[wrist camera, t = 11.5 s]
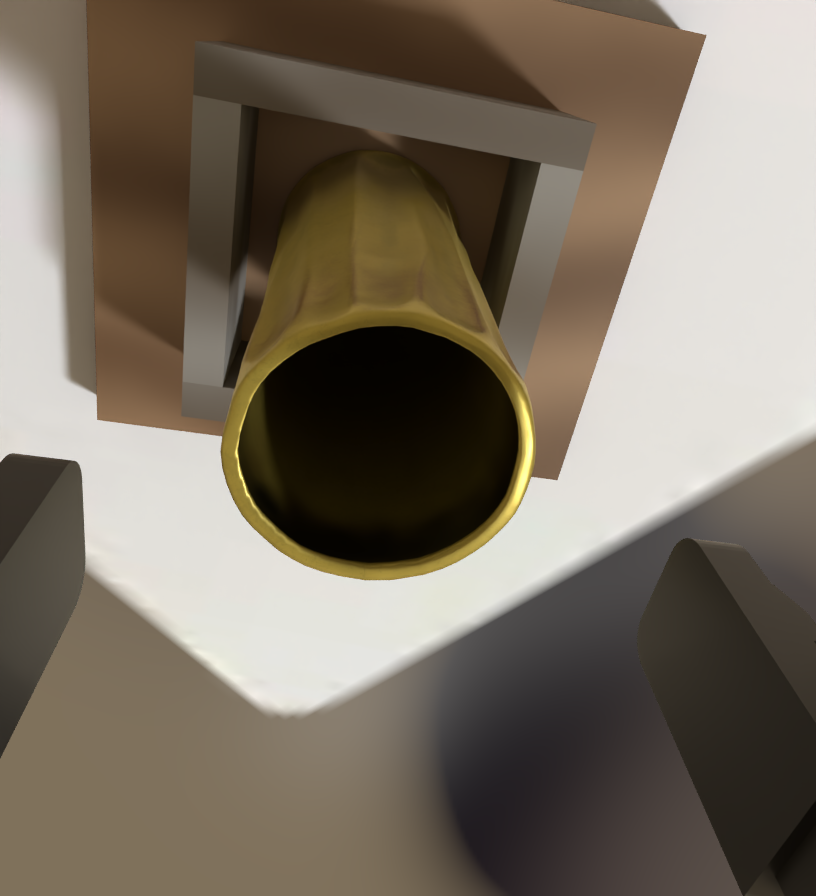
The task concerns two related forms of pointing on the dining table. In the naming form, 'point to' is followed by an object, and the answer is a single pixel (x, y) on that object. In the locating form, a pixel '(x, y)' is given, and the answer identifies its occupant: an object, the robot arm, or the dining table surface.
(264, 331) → the vase
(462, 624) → the dining table surface
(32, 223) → the dining table surface
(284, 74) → the dock
